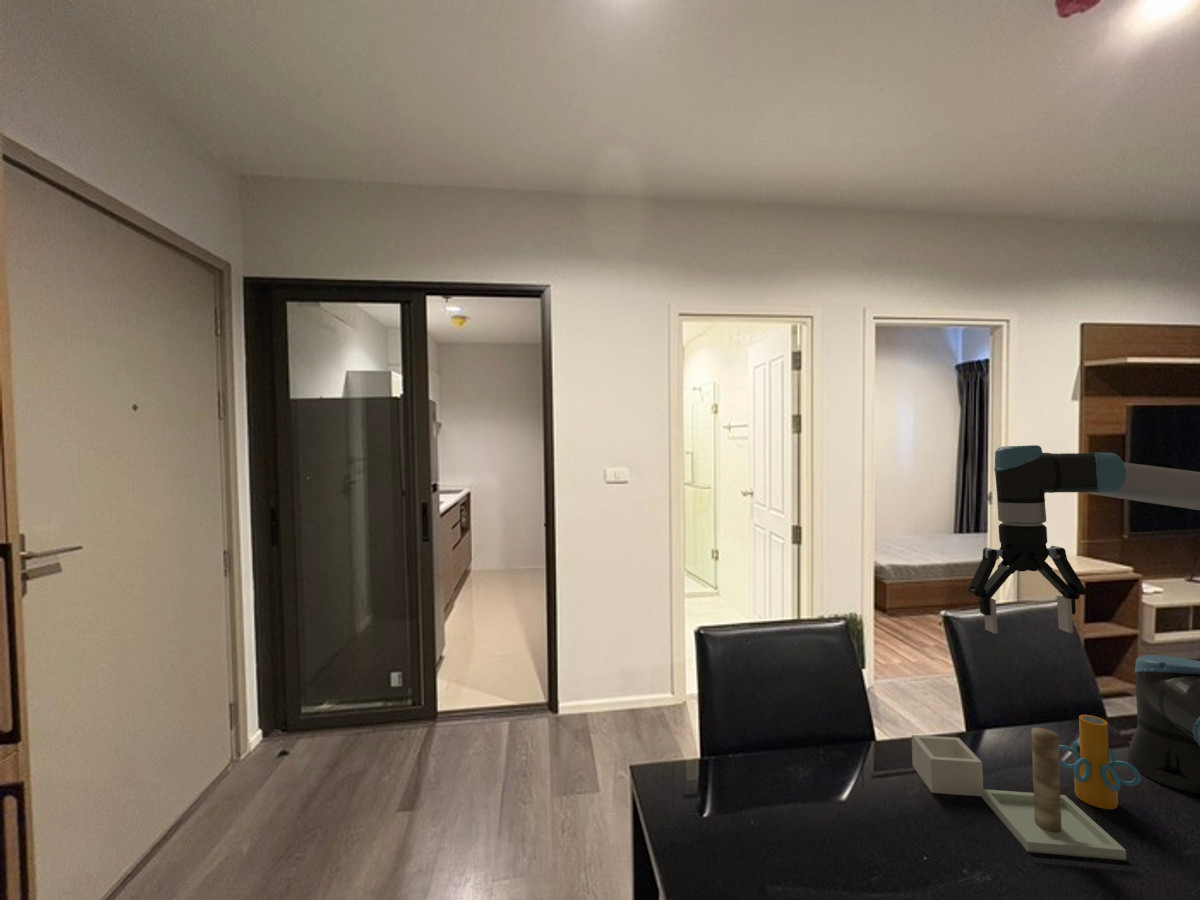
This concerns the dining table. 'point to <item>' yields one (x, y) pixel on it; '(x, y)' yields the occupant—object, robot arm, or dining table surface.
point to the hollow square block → (947, 765)
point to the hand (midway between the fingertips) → (1028, 631)
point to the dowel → (1046, 779)
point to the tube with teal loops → (1096, 765)
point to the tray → (1073, 839)
